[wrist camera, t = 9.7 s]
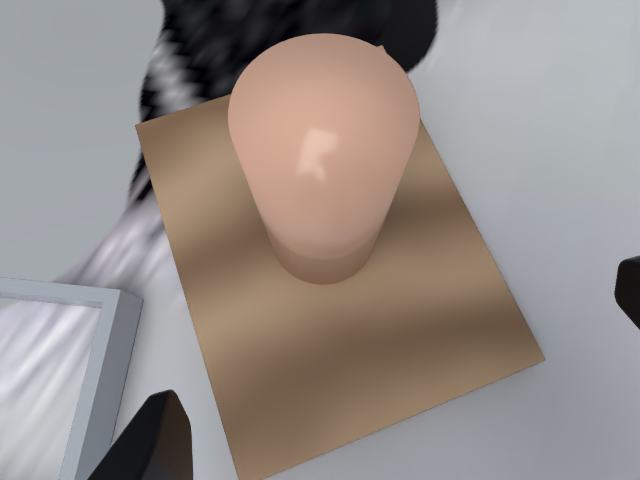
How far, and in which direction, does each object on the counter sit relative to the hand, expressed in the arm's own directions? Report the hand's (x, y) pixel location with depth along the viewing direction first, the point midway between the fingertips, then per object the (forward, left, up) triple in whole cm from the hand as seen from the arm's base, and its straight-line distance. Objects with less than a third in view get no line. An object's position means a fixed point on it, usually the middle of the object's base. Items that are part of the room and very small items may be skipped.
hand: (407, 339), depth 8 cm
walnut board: (+6, -1, -12) cm, 14 cm away
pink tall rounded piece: (+6, -1, -11) cm, 13 cm away
